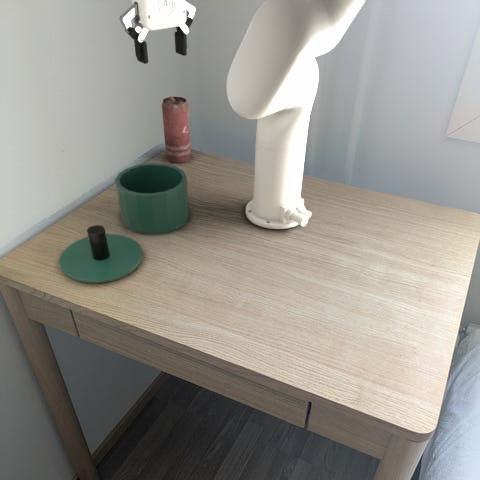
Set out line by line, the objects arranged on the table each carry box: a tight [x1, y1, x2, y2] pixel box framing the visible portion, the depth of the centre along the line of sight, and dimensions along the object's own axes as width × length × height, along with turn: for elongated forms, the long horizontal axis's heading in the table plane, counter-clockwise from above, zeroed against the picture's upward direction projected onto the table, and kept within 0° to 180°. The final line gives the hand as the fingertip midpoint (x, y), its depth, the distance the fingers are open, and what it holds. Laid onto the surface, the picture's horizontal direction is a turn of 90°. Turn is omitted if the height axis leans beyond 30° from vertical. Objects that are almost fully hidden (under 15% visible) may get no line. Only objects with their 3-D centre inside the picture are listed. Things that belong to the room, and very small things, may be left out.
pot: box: [114, 162, 190, 235], centre depth 99 cm, size 14×14×8 cm
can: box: [161, 96, 192, 164], centre depth 118 cm, size 6×6×14 cm
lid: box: [59, 224, 143, 284], centre depth 88 cm, size 15×15×7 cm
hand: (162, 58), depth 103 cm, fingers open, 9 cm apart
